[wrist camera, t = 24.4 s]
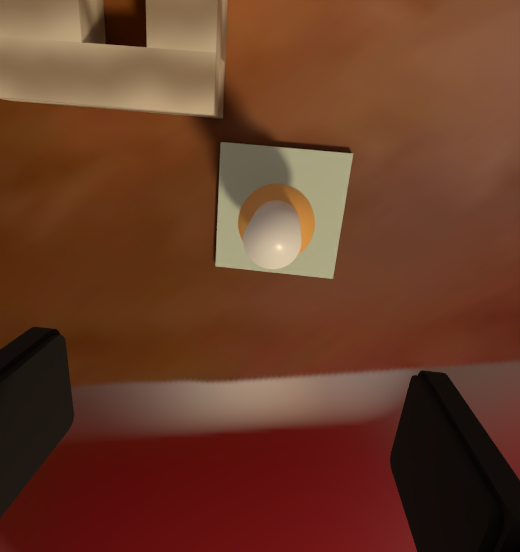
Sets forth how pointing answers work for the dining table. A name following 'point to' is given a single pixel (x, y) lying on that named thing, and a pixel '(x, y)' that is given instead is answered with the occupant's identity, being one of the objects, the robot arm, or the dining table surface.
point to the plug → (275, 225)
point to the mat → (294, 172)
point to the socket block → (115, 57)
